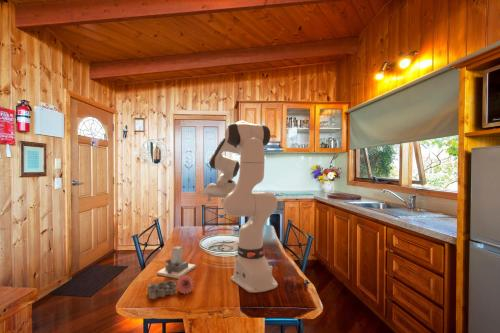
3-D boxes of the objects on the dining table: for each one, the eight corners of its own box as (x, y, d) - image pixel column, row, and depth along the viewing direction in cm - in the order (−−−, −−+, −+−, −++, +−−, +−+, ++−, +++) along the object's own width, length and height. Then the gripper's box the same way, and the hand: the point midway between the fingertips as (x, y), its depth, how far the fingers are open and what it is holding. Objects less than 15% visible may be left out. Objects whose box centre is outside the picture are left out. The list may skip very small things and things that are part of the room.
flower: (175, 273, 110) (180, 269, 106) (193, 278, 113) (198, 274, 109) (170, 293, 104) (175, 290, 101) (189, 298, 107) (194, 295, 104)
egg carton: (148, 301, 99) (148, 290, 99) (147, 292, 106) (146, 282, 106) (177, 295, 104) (177, 284, 104) (174, 286, 111) (174, 277, 111)
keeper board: (175, 263, 135) (175, 248, 135) (195, 267, 131) (195, 251, 131) (155, 275, 121) (155, 258, 121) (177, 279, 117) (177, 262, 117)
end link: (182, 267, 128) (182, 247, 128) (178, 270, 124) (178, 249, 124) (176, 266, 129) (176, 246, 129) (171, 269, 126) (171, 248, 125)
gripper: (206, 180, 163) (198, 197, 154) (236, 181, 156) (229, 199, 147) (210, 186, 167) (202, 204, 158) (239, 188, 160) (232, 206, 151)
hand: (215, 202), depth 152 cm, fingers open, 8 cm apart
